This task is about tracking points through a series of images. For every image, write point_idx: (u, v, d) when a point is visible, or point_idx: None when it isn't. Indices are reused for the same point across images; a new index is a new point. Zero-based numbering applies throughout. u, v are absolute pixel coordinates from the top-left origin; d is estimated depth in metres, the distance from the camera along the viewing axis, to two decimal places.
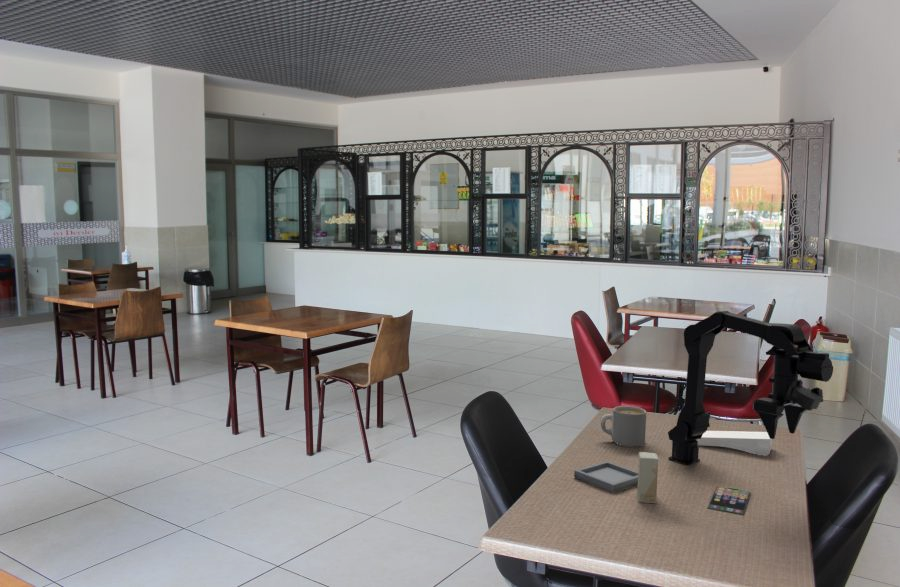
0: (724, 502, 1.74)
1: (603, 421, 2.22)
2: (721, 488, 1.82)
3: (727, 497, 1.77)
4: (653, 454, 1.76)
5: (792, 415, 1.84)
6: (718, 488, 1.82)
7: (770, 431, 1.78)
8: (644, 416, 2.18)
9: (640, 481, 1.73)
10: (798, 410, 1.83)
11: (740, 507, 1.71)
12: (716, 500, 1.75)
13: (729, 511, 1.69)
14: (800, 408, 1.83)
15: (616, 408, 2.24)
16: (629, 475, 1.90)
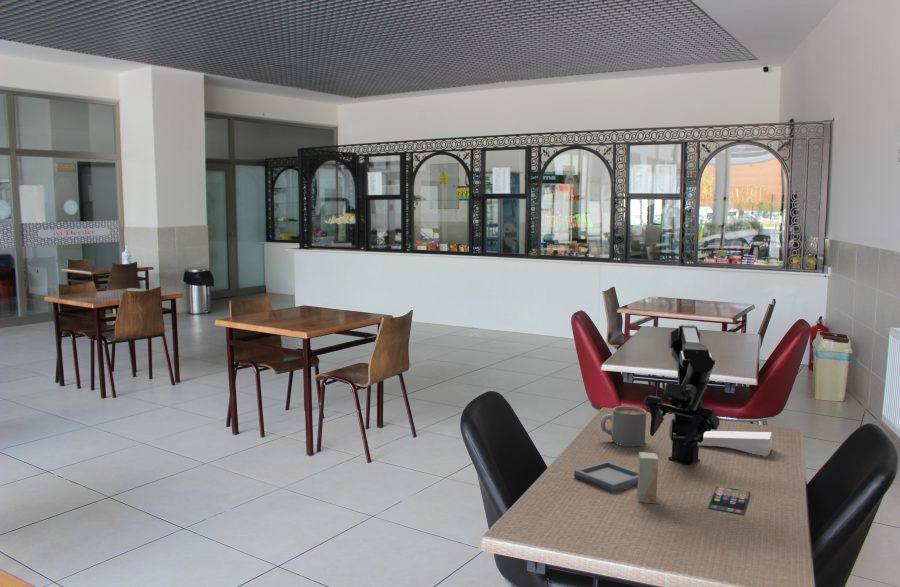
0: (724, 502, 1.74)
1: (603, 421, 2.22)
2: (721, 488, 1.82)
3: (727, 497, 1.77)
4: (653, 454, 1.76)
5: None
6: (718, 488, 1.82)
7: None
8: (644, 416, 2.18)
9: (640, 481, 1.73)
10: None
11: (740, 507, 1.71)
12: (716, 500, 1.75)
13: (729, 511, 1.69)
14: None
15: (616, 408, 2.24)
16: (629, 475, 1.90)
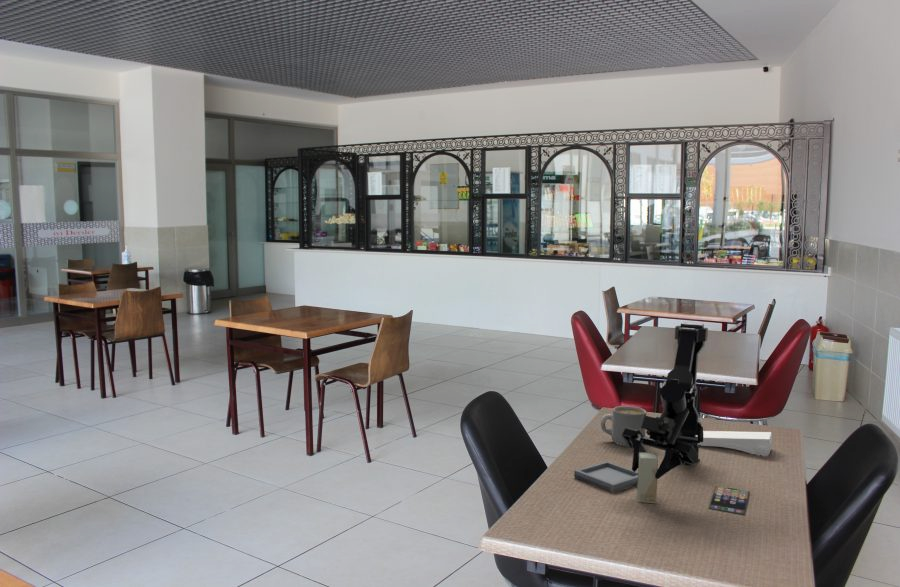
0: (725, 502, 1.74)
1: (603, 421, 2.22)
2: (720, 488, 1.82)
3: (727, 497, 1.77)
4: (653, 454, 1.76)
5: None
6: (717, 488, 1.82)
7: None
8: None
9: (640, 481, 1.73)
10: None
11: (741, 507, 1.71)
12: (716, 500, 1.75)
13: (730, 511, 1.69)
14: None
15: (616, 408, 2.24)
16: (629, 475, 1.90)
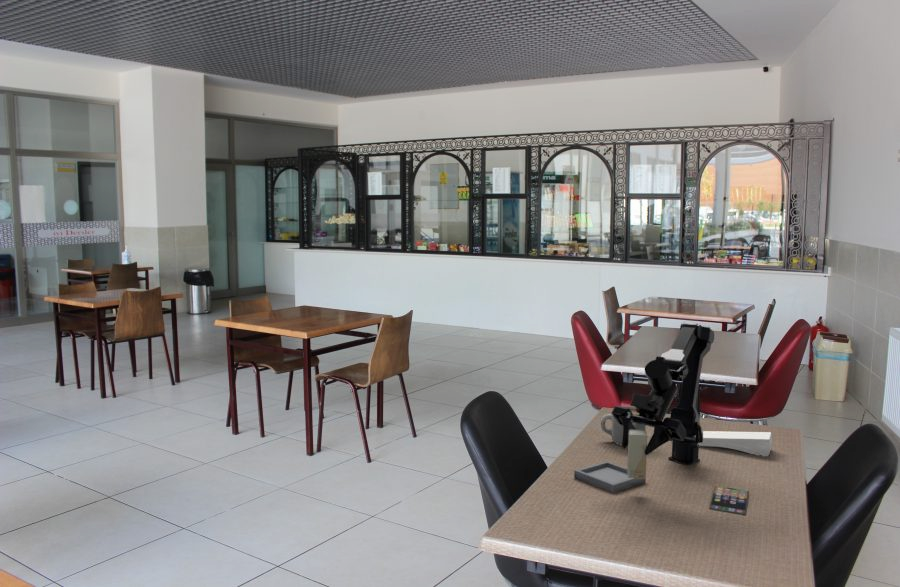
0: (725, 502, 1.74)
1: (603, 421, 2.22)
2: (719, 488, 1.82)
3: (727, 497, 1.77)
4: (642, 431, 1.79)
5: None
6: (717, 488, 1.82)
7: None
8: None
9: (630, 457, 1.77)
10: None
11: (741, 507, 1.71)
12: (716, 500, 1.75)
13: (731, 511, 1.69)
14: None
15: None
16: None
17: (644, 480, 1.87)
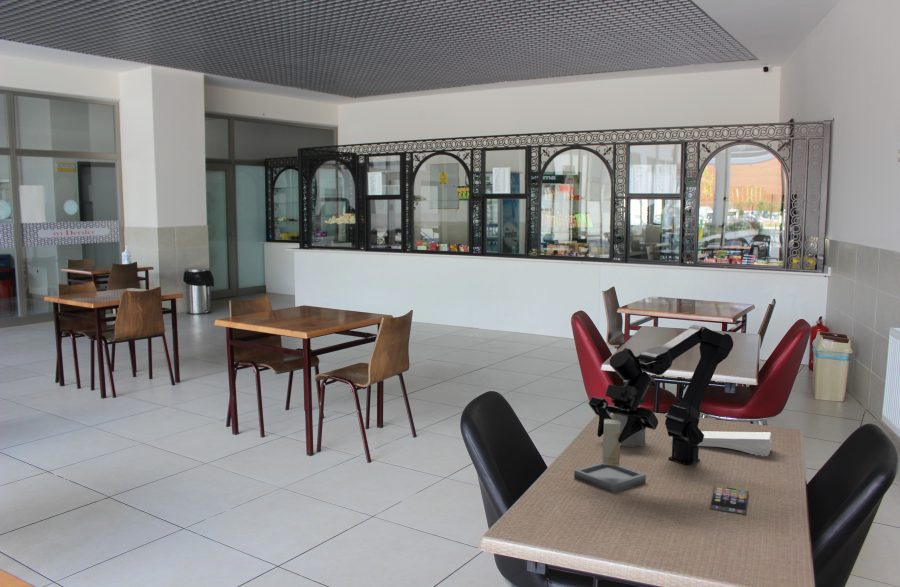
0: (725, 502, 1.74)
1: None
2: (719, 488, 1.82)
3: (727, 497, 1.77)
4: (617, 420, 1.88)
5: None
6: (716, 488, 1.82)
7: None
8: None
9: (604, 445, 1.86)
10: None
11: (741, 507, 1.71)
12: (717, 500, 1.75)
13: (731, 511, 1.69)
14: None
15: None
16: (629, 475, 1.90)
17: (644, 480, 1.87)
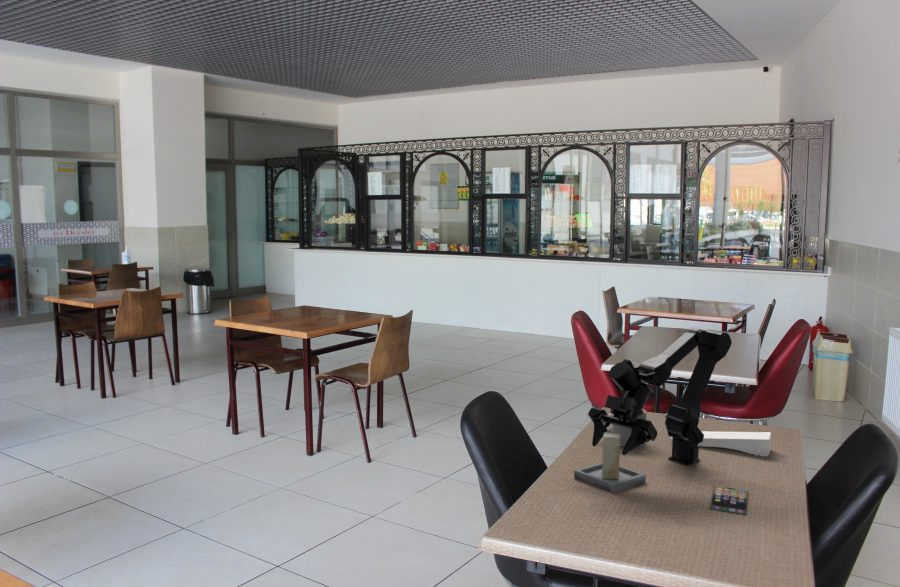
0: (725, 502, 1.74)
1: None
2: (719, 488, 1.82)
3: (727, 497, 1.77)
4: (616, 434, 1.89)
5: None
6: (716, 488, 1.82)
7: None
8: (644, 416, 2.18)
9: (603, 459, 1.86)
10: None
11: (741, 507, 1.71)
12: (717, 500, 1.75)
13: (732, 511, 1.69)
14: None
15: None
16: (629, 475, 1.90)
17: (644, 480, 1.87)
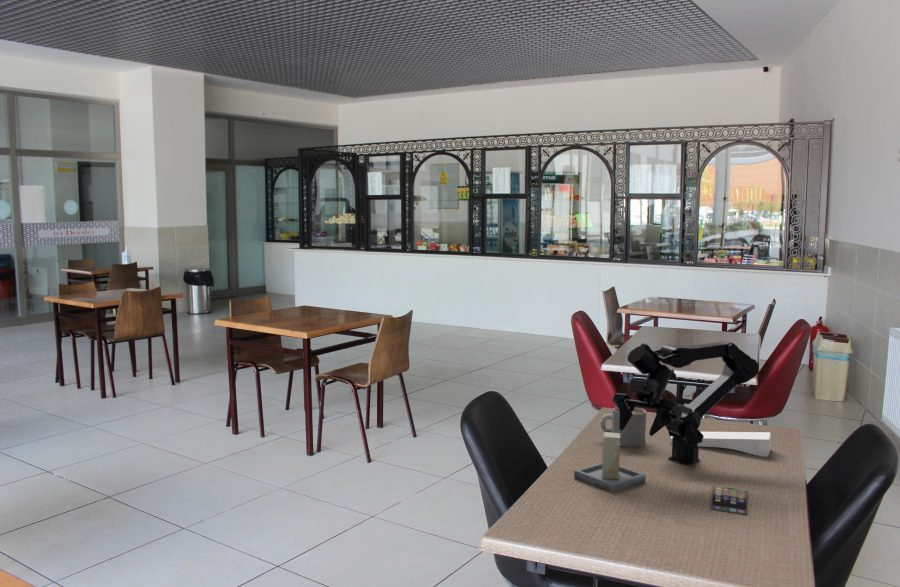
0: (725, 502, 1.74)
1: (603, 421, 2.22)
2: (718, 488, 1.82)
3: (727, 497, 1.77)
4: (616, 434, 1.89)
5: None
6: (715, 488, 1.82)
7: None
8: (644, 416, 2.18)
9: (603, 459, 1.86)
10: None
11: (742, 507, 1.71)
12: (717, 501, 1.75)
13: (732, 511, 1.69)
14: None
15: (616, 408, 2.24)
16: (629, 475, 1.90)
17: (644, 480, 1.87)
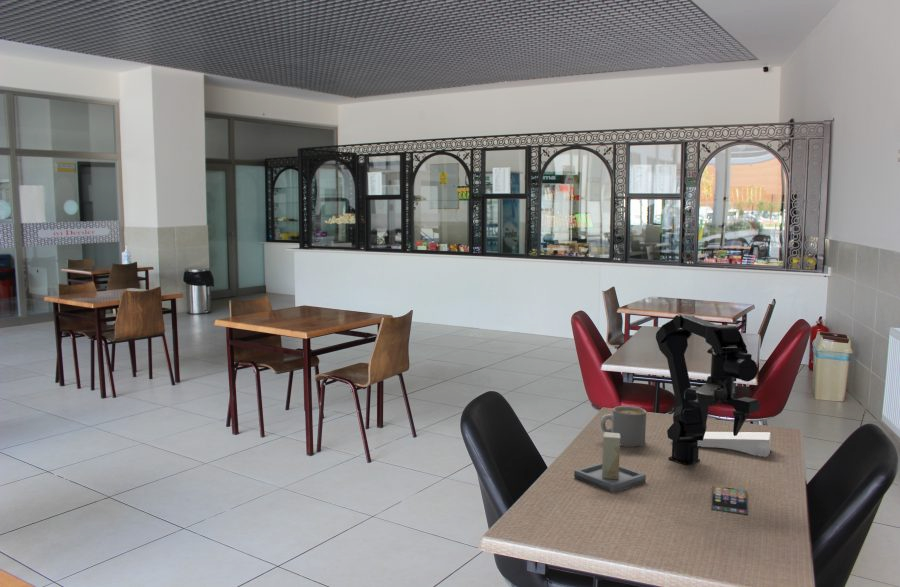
0: (725, 502, 1.74)
1: (603, 421, 2.22)
2: (718, 488, 1.82)
3: (726, 497, 1.77)
4: (616, 434, 1.89)
5: None
6: (715, 488, 1.82)
7: None
8: (644, 416, 2.18)
9: (603, 458, 1.86)
10: None
11: (742, 507, 1.71)
12: (717, 501, 1.75)
13: (733, 512, 1.69)
14: None
15: (616, 408, 2.24)
16: (629, 475, 1.90)
17: (644, 480, 1.87)
